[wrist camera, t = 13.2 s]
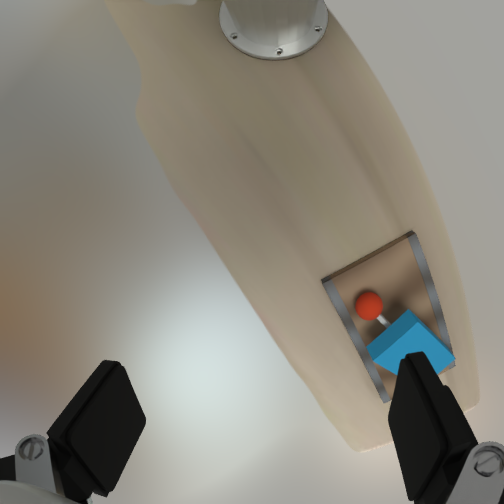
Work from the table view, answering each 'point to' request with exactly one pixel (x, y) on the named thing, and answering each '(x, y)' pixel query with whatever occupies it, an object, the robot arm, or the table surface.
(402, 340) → the lever
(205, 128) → the table surface
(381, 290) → the ribbed board
